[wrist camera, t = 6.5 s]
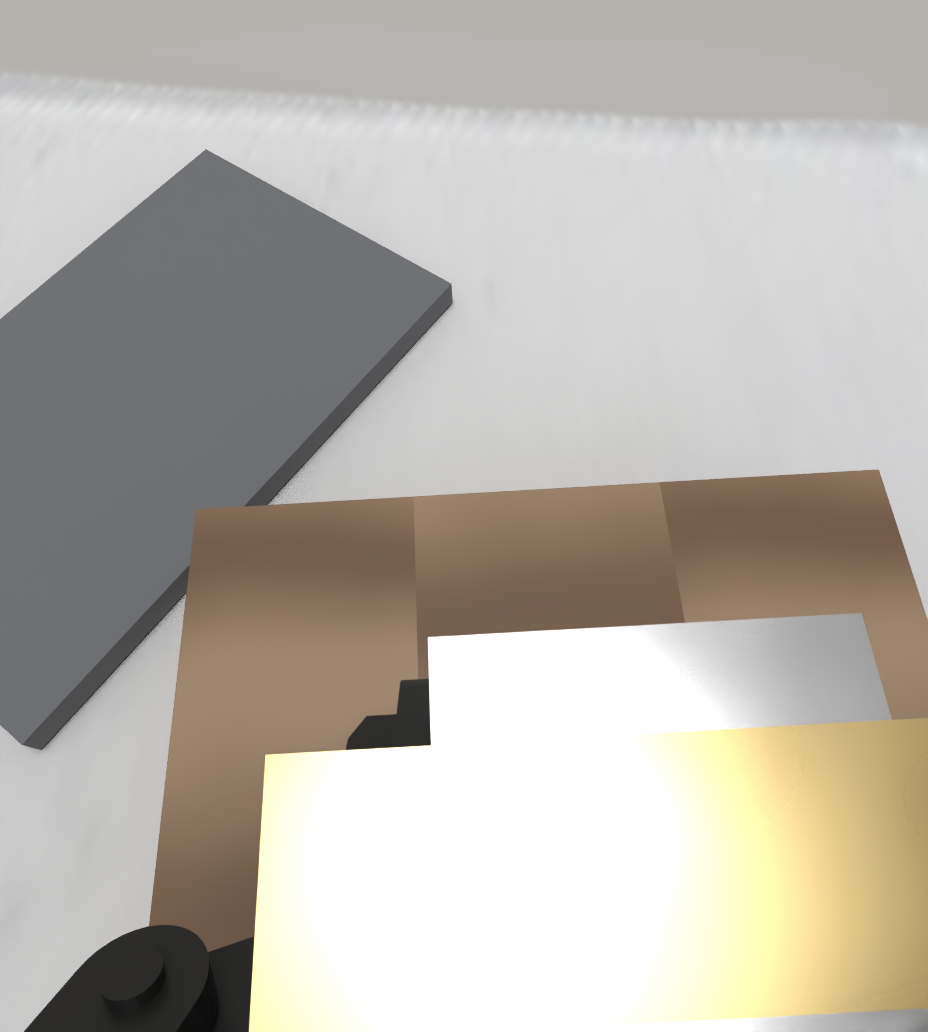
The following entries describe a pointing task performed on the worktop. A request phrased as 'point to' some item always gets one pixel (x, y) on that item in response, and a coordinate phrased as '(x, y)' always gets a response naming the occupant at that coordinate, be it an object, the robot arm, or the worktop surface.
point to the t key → (610, 844)
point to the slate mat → (171, 409)
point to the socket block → (475, 621)
